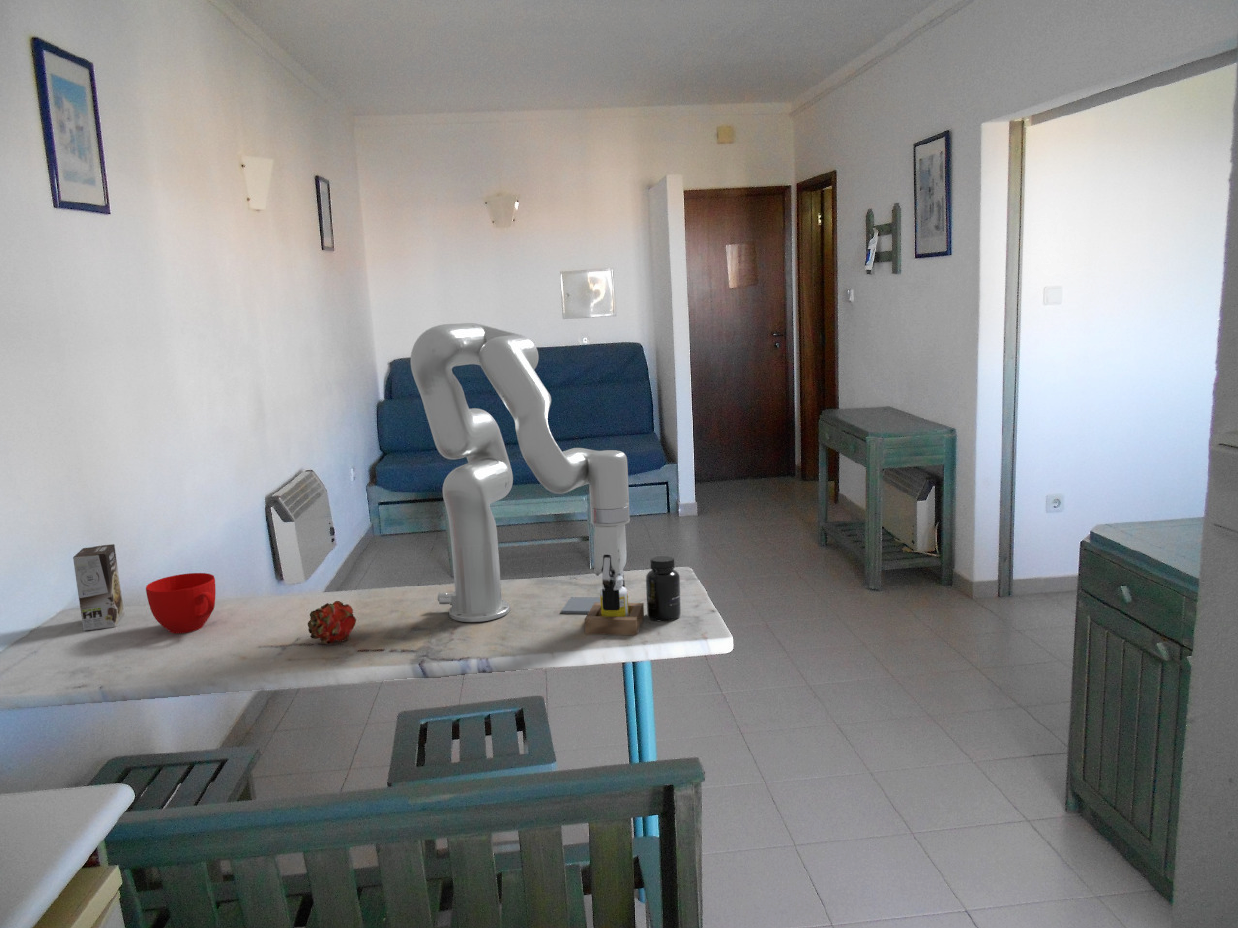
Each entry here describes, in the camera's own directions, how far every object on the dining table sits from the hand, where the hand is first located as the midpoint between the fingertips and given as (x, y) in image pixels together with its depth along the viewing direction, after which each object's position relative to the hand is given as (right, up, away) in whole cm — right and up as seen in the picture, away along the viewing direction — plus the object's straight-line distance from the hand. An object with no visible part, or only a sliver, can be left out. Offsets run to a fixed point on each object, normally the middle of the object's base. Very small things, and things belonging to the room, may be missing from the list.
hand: (614, 603), depth 179 cm
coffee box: (-110, -7, +17) cm, 111 cm away
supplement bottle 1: (0, -5, +1) cm, 5 cm away
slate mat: (-6, -3, +13) cm, 14 cm away
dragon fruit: (-55, -7, 0) cm, 55 cm away
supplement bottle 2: (+10, -4, +5) cm, 12 cm away
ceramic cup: (-88, -7, +10) cm, 88 cm away
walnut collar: (0, -4, +1) cm, 4 cm away
